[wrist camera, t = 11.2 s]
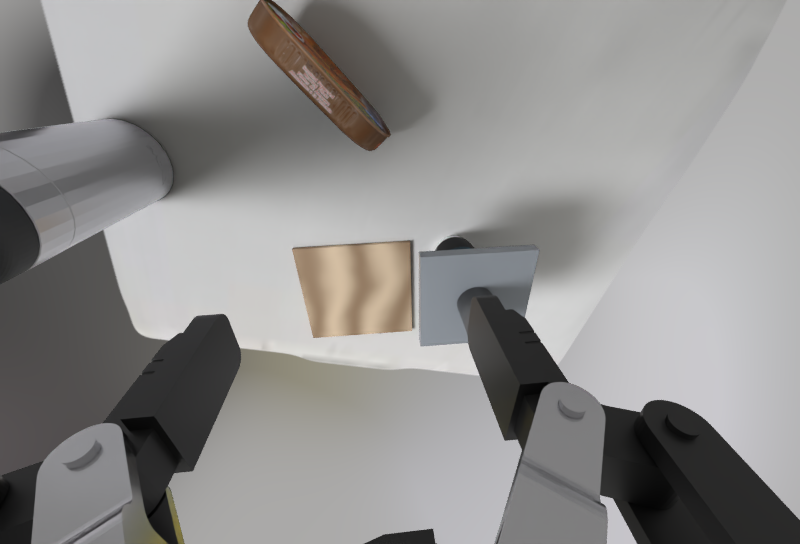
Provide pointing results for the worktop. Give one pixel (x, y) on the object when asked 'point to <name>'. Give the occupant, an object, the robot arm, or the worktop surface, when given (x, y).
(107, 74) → the worktop surface
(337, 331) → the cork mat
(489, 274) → the lid
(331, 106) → the tin
